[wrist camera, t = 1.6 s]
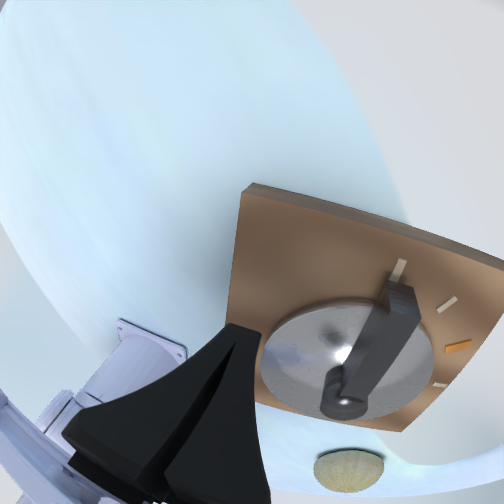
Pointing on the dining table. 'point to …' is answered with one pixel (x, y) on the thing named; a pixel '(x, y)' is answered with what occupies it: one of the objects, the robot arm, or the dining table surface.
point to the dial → (350, 356)
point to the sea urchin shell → (348, 470)
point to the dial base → (358, 280)
